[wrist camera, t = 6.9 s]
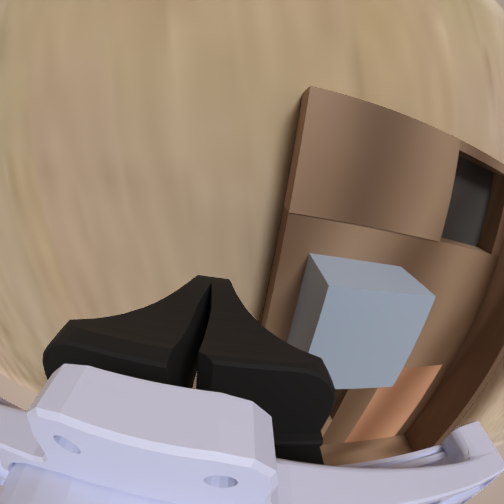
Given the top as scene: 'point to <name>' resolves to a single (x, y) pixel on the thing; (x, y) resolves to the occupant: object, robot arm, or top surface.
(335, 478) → the robot arm
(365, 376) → the block
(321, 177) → the board
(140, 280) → the top surface
